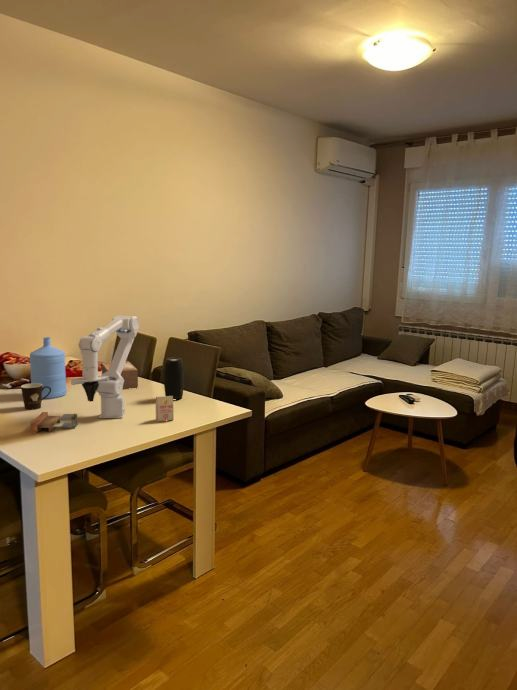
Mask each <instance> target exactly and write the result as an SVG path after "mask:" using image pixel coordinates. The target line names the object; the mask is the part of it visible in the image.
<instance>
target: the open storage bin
mask: <svg viewBox="0 0 517 690" xmlns="http://www.w3.org/2000/svg"><path fill="white" fill-rule="evenodd" d="M60 421H71V422H63V423H62V424H61V426H60V429H61V430H73V429H74V430H75V429H76V428H75V427H77V426H78V423H79V422H78V421H79V420H78V413H64V414H63V415H62V416H60Z"/></svg>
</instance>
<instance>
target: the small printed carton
mask: <svg viewBox="0 0 517 690" xmlns="http://www.w3.org/2000/svg"><path fill="white" fill-rule="evenodd" d="M156 420H157V421H164V422H167V421H166V420H174V400H173V396H155V421H156ZM157 421H156V422H157Z"/></svg>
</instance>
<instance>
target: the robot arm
mask: <svg viewBox="0 0 517 690" xmlns="http://www.w3.org/2000/svg"><path fill="white" fill-rule="evenodd" d="M139 329H140V321H139V318H138V317H137V316H136V315H134V316H133V315H132V316H131V315H130V316H129V315H119V314H117V315H114V316H113V317H112V321H111V322H109V323H108V324H107V325H105V326H104V327H101V326H98V327H97V328H96V329H95V330H94V331H93V332H90V334H89V335H84V336H82V337H81V338H80V339H79V342H78V348H79V350H80V354H81V357H82V358H81V362H82V363H81V364H82V365H81V366H82V374H81V375H82V377H79V378H73V379H70V385H72V386H76V385H81V386H82V388H83V390H84V392H85V395H86V398H87V399H86V400H87V402H94V399H95V395H96V392H97V393H98V395H99V396H100V415H99V416H98V419H123V417H124V415H125V414H126V411H125V410H126V409H125V408H126V406H125V395H123V394H122V392H123V390H124V389H123V383H124V379H123V378H122V376H121V372H122V370H123V367H124V364H125V362H126V361H127V360H128V355H129V353H130V352H131V348H132V345H133V343H134V341H135V338H136V336H137V334H138V331H139ZM115 332H116V335H117V336H118V337H119V339H120V340H119V342H118V345H117V348H116V350H115V352H114V355H113V358H112V360H111V361H110V362H111V365H110V367H109V370H108V371H107V372H105V373H104V374H102V373H101V375H99V363H98V362H99V361H98V360H99V356H98V355H99V354H98V353H99V351H100V350H101V347H102V345H103V344H104V343H106V342H107V341H108V340H109V339H110V337H111V335H112V334H113V333H115Z"/></svg>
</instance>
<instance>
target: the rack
mask: <svg viewBox="0 0 517 690" xmlns="http://www.w3.org/2000/svg"><path fill="white" fill-rule="evenodd" d="M56 423H57V424H60V423H61V415H49V414H48V411H42V412H41V413H40V414H38V416H36V417H35V418H34V419H33V420H32V421H31V422H30V434H38V433H39V431H41V429H42V428H45V429H48V432H49V433H52V432H53V427H54V426H55V424H56Z"/></svg>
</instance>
